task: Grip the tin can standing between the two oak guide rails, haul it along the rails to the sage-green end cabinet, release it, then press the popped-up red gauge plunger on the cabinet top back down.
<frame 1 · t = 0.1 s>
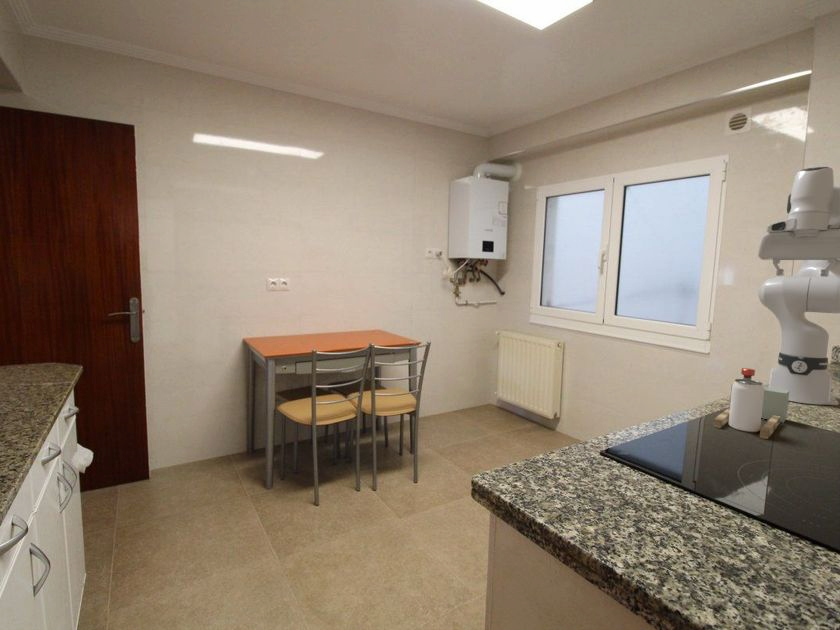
hand: (801, 275, 123), 39 cm above the worktop, tool pointing down, fingers open, 8 cm apart
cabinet: (757, 415, 123), on the worktop
plunger: (746, 382, 124), point 9 cm above the worktop, slide at 0.0 cm
can: (743, 429, 112), on the worktop
rails: (747, 425, 114), on the worktop
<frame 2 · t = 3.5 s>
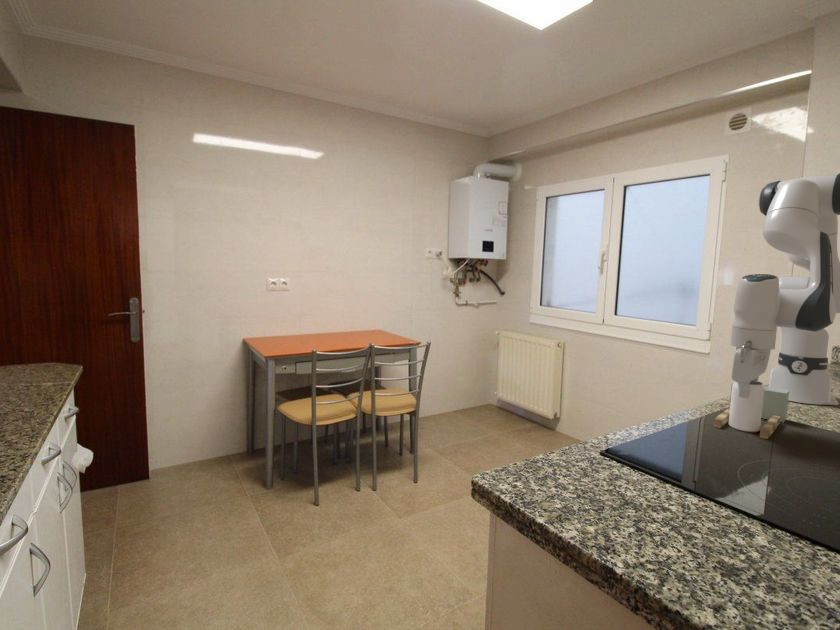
hand: (747, 394, 111), 9 cm above the worktop, tool pointing down, fingers closed on can, 6 cm apart
can: (743, 429, 112), on the worktop, touching gripper
everything else where it was.
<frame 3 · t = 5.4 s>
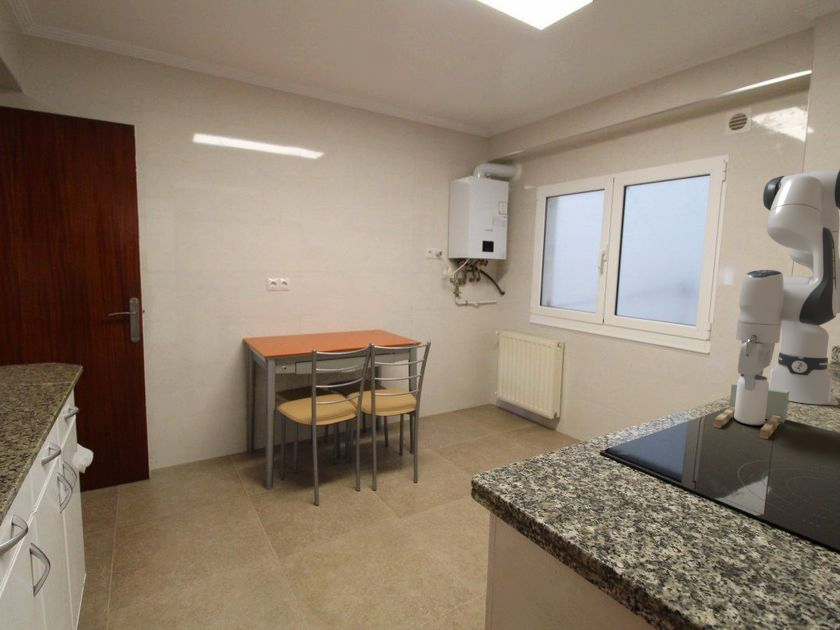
hand: (752, 387, 115), 10 cm above the worktop, tool pointing down, fingers closed on can, 6 cm apart
can: (748, 422, 116), on the worktop, touching gripper
everything else where it was.
when the fingers open (9 cm above the worktop, at t = 7.2 s): can stays where it is, on the worktop.
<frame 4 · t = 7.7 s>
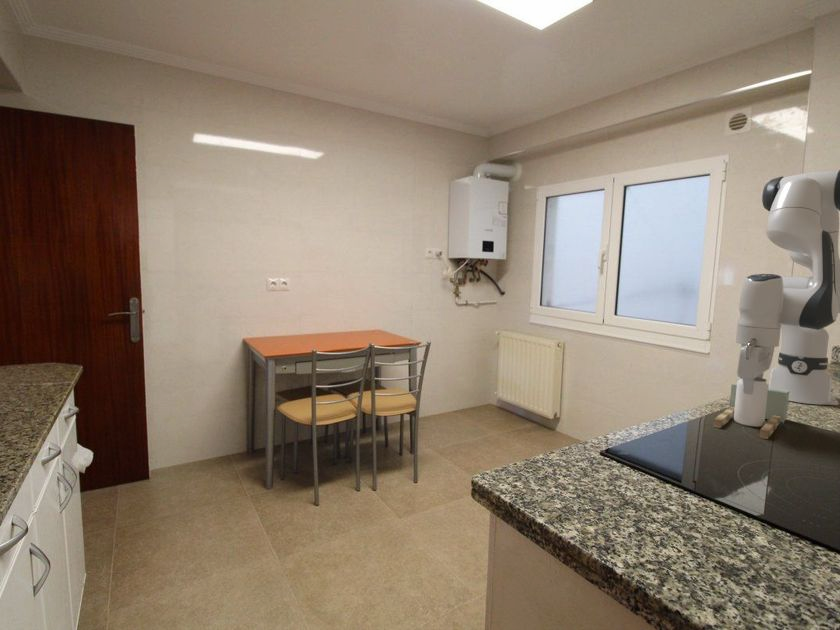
hand: (752, 390, 115), 9 cm above the worktop, tool pointing down, fingers open, 8 cm apart
can: (748, 424, 116), on the worktop
everything else where it was.
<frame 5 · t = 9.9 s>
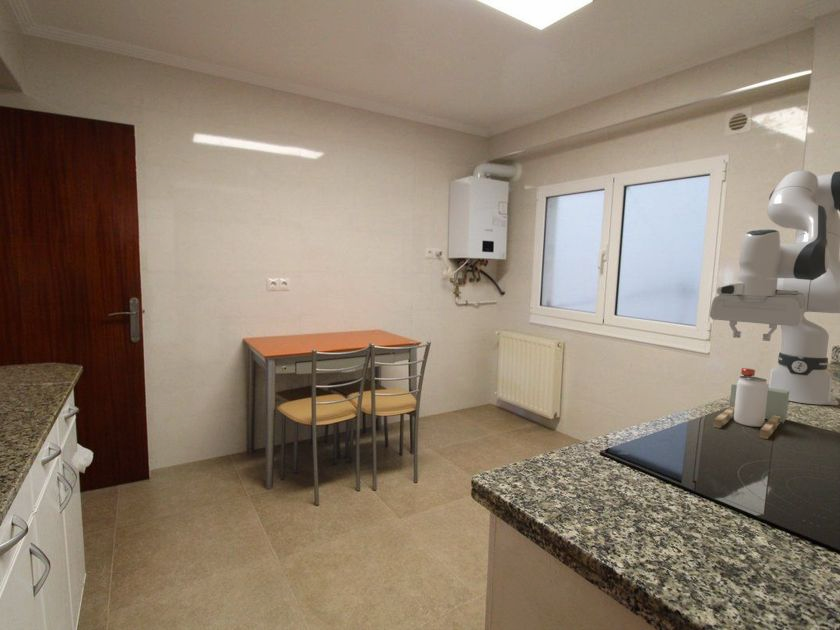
hand: (751, 339, 123), 21 cm above the worktop, tool pointing down, fingers open, 5 cm apart
nothing on the worktop moved.
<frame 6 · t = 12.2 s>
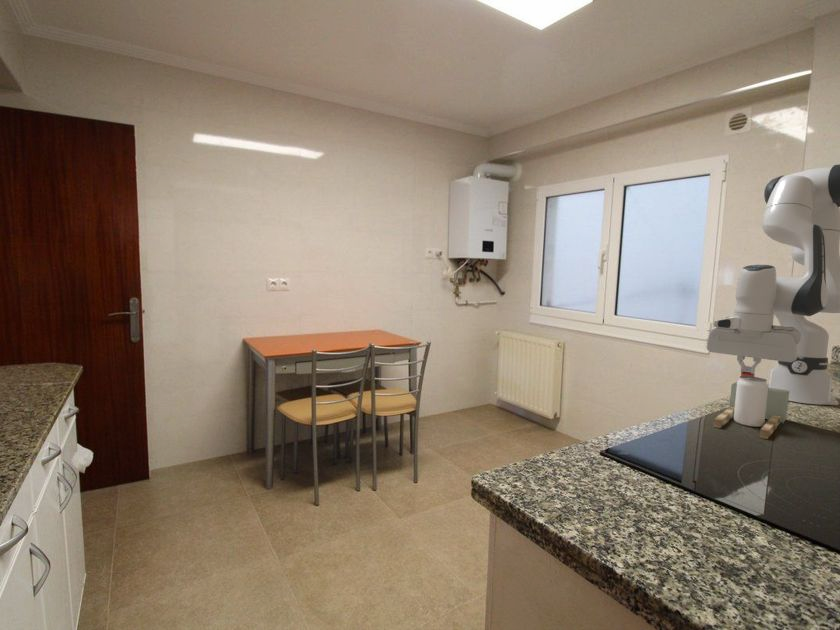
hand: (747, 373, 124), 11 cm above the worktop, tool pointing down, fingers closed, pressing on plunger
plunger: (746, 386, 124), point 8 cm above the worktop, slide at 1.1 cm, touching gripper
everything else where it was.
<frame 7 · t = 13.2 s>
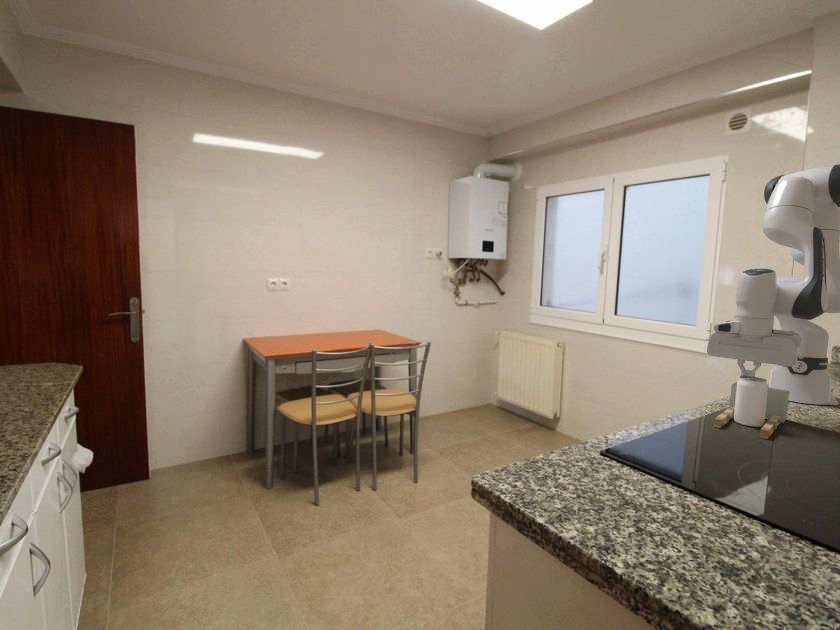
hand: (747, 376, 124), 10 cm above the worktop, tool pointing down, fingers closed
plunger: (746, 390, 124), point 6 cm above the worktop, slide at 2.4 cm
everything else where it was.
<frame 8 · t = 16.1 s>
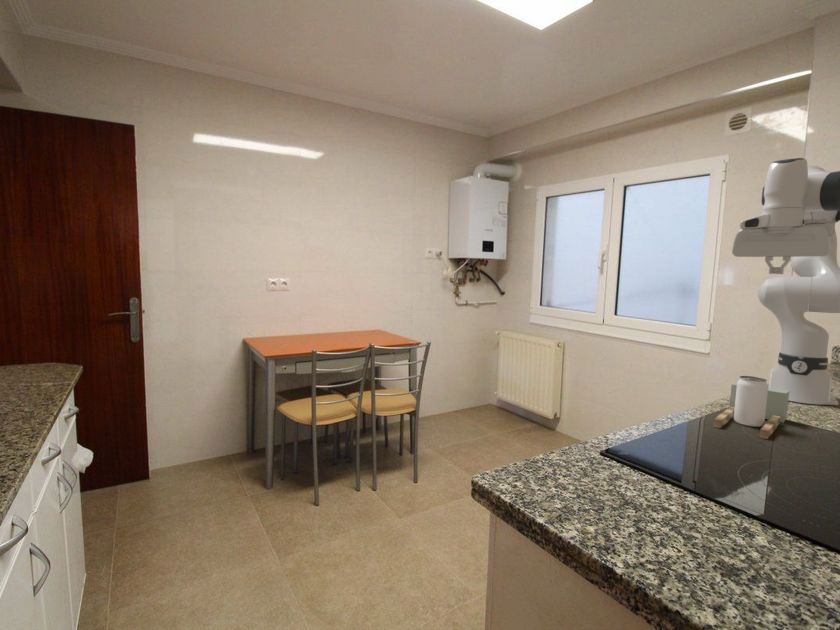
hand: (776, 273, 118), 39 cm above the worktop, tool pointing down, fingers closed
nothing on the worktop moved.
at the end: can inside the target area (0.2 cm from its centre), on the worktop; can tilted 0°; plunger slide at 2.4 cm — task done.
